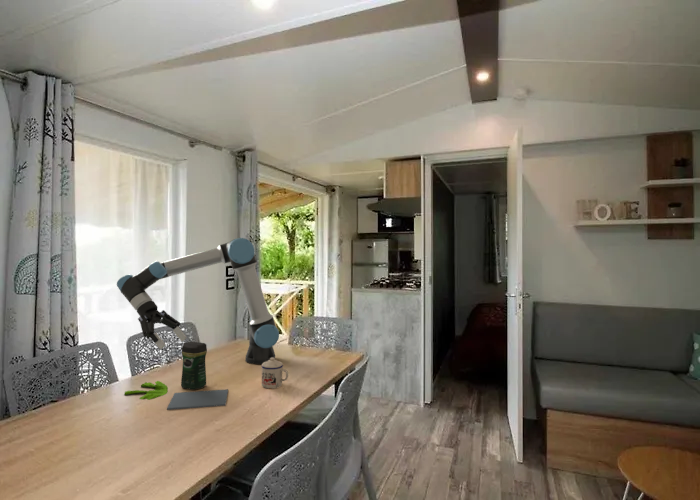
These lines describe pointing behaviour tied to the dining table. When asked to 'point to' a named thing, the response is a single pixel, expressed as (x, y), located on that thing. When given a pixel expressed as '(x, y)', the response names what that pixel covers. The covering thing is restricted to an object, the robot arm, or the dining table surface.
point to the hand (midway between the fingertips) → (174, 343)
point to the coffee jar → (193, 365)
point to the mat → (198, 399)
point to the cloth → (159, 390)
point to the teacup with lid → (272, 373)
